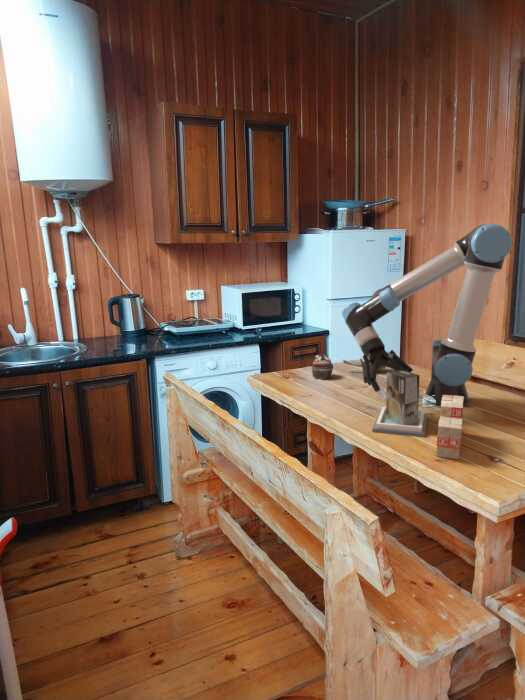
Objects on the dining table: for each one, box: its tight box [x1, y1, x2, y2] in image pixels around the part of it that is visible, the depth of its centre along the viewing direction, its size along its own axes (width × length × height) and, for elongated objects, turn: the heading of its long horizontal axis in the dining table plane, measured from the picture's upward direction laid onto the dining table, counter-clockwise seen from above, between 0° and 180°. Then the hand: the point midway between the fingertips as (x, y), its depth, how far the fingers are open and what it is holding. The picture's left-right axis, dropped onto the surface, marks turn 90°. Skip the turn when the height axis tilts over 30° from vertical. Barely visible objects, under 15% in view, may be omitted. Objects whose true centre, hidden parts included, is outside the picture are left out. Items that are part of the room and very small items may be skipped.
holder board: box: [372, 406, 428, 438], centre depth 173 cm, size 16×19×2 cm
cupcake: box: [310, 353, 334, 381], centre depth 231 cm, size 10×10×10 cm
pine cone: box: [342, 359, 389, 372], centre depth 238 cm, size 22×10×10 cm, turn 94°
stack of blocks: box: [436, 395, 464, 460], centre depth 155 cm, size 21×6×12 cm, turn 158°
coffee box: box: [385, 370, 420, 425], centre depth 172 cm, size 9×6×16 cm
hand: (400, 395), depth 172 cm, fingers open, 13 cm apart
